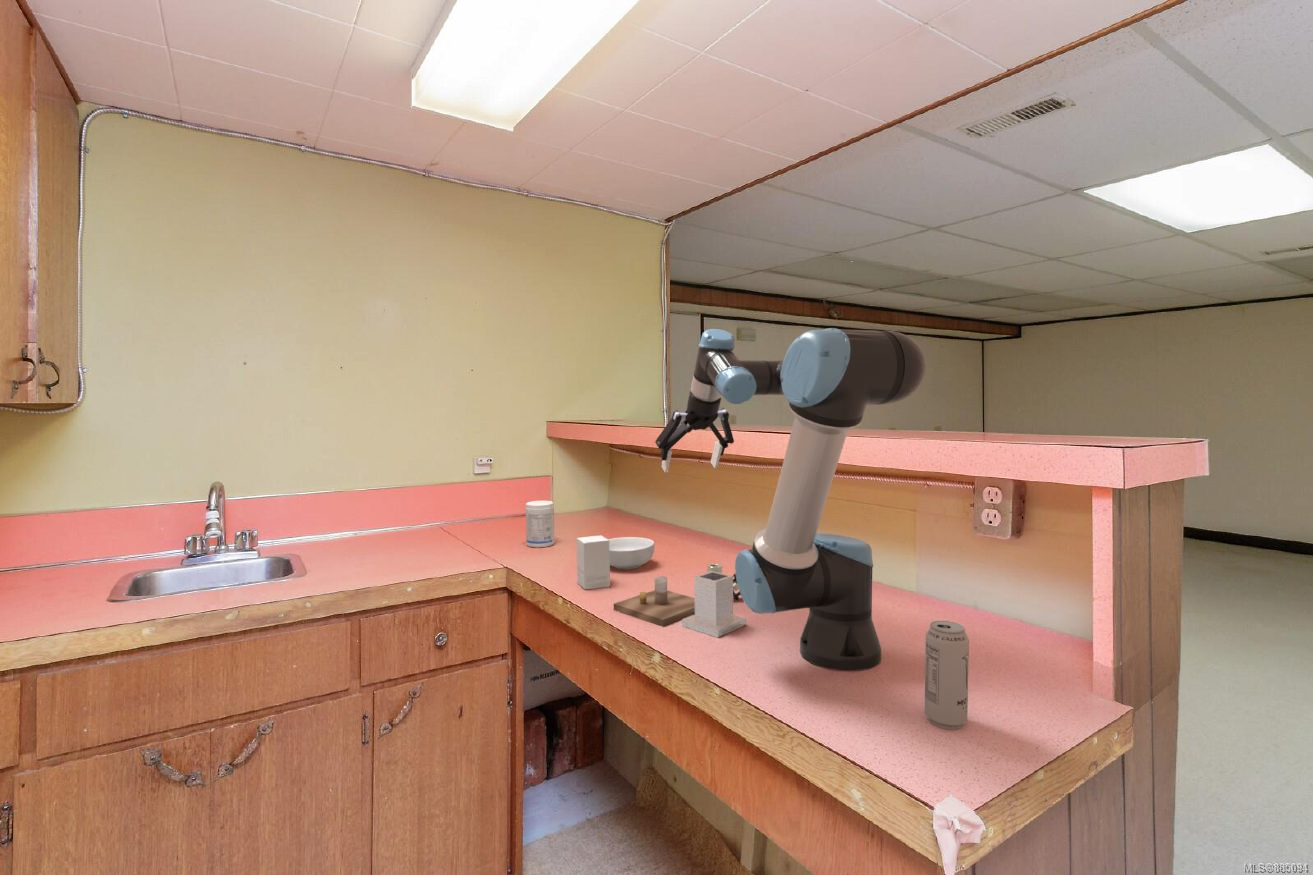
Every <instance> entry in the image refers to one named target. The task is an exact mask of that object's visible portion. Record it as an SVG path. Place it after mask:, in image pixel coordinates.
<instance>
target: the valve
mask: <svg viewBox="0 0 1313 875" xmlns="http://www.w3.org/2000/svg"><path fill="white" fill-rule="evenodd" d="M710 571H714V572H718V573H722V572H723V565H721V564H720V563H709V564H708V565H707V572H710ZM732 576H733V601H736V600H737V601H739V600H740V597H739V596H741V594H740V591H739V588H738V584H737V580H736V573H734V574H733V575H732ZM735 591H736V592H735ZM737 591H738V592H737Z"/></svg>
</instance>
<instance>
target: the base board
mask: <svg viewBox="0 0 1313 875" xmlns="http://www.w3.org/2000/svg"><path fill="white" fill-rule="evenodd" d="M615 610H616V612H618V611H619V613H622V614H624V615H627V614H628V616H630V615H631V616H630V617H634V618H637V619H639V618H640V620H642V621H646V622H649V623H651V624H655V625H657V626H660V627H665V626H667V625H670V624H672V623H675V622H678V621H680V620H682V619H684V618H687V617H689V616H692V615H695V597H692V596H689V595H684V594H681V593H677V592H674V591H670V590H668V577H667V576H663V575H662V576H661V575H660V576H659V575H658V576H655V577H654V590H651V591H649V592H646V591H640V592H639V595H635V596H634V597H631V598H630V597H629V598H627V599H624V600H621V601H617V602H614V603H613V611H615Z"/></svg>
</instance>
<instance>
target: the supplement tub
mask: <svg viewBox="0 0 1313 875" xmlns="http://www.w3.org/2000/svg"><path fill="white" fill-rule="evenodd" d="M525 525H526V526H525V529H526V530H525V532H526V533H525V534H526V545H527V546H528V547H530V548H539V549H540V548H548V547H551V546H553V545H554V544H555V507H554V502H553V501H551V500H533V501H532V500H531V501H528V502H526V503H525Z"/></svg>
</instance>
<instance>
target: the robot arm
mask: <svg viewBox="0 0 1313 875" xmlns="http://www.w3.org/2000/svg"><path fill="white" fill-rule="evenodd" d="M735 341H736V340H735V337H734V335H733V334H732V333H731V332H729V331H727V330H724V329H718V328H710V329H706V330H704V332H702V334H701V338H700V342H699V344H698V350H697V355H696V361H695V366H694V371H693V376H692V381H691V385H690V392H689V394H688V400H687V407H686V410H685V412H679V411H678V410H677V409H676V410H674V411H673V412H672V416H671V418H670V420H669V421H668V423H667V424H666V425H665V427H664V428H663V429H662V431H661V433H660V434H659V435H658V437H657V438H656V440H655V441H654V442H655V444H656V446H657V449H659V450H660V455H659V456H660V458H661V460H662V461H661V468H662V470H663V472H664V473H665V474H666V473H669V468H670V465H671V464H670V463H671V459H672V455H673V454H672V453H673V450H672V447H674V445H676V444H677V443H678V442H679V441H680V440H681V439H683V437H685V435H687V434H689V433H691V432H692V431H693V430H694V431H698V430H707V429H708V428H709V429H710V430H711V431H712V432H713V434H714V435H715V437H716V439H717V441H715V442H714V447H713V451H712V455H711V459H710V464H711V465H712V467H713V468H714V469H718V467H719V464H720V458H721V456H723V455H724V453H725V451H726V450H725V449H727V448H728V447H729V444H731V445H732V444H734V442H735V439H734V436H733V433H732V429H731V426H730V422H729V420H730V419H729V417H730V414H729V412H728V410H727V409H726V408H725V407H721V409H720V405H721V401H722V397H723V399H724V400H726V401H727V402H728V403H730V404H733V405H741V404H744V403H745V402H748V401H750V400H751V398H753V396H765V395H766V396H770V395H771V396H784V398H785V399H786V400H787V401H788V408H789V410H790V412H791V413H792V414H793V416H794V420H793V423H792V427H791V432H790V436H789V439H788V443H787V446H786V451H785V454H784V458H783V461H782V465H781V470H780V473H779V477H778V481H777V484H776V485H777V486H776V488H775V493H774V496H773V501H772V504H771V508H770V511H769V516H768V520H767V522H766V527H765V528H763V529H761V530H760V531H758V532H757V533H756V534H755V537H754V540H753V542H752V546H751V548H750V549H743V550H741V551H739V552H738V553H737V555H736V557H735V561H734V563H735V565H734V567H735V568H734V571H735V573H734V574H736V580H737V584H738V588H739V589H738V592H739V591H740V594H741V595H740V596H741V598H742V600H743V602H744V603H745V605H746V606H747V608H748V609H749V610H751V612H753V613H755V614H758V615H759V614H762V615H763V614H772V615H773V614H776V613H781V612H788V611H789V612H790V611H796V610H803V609H808V610H809V611H808V616H807V619H806V621H805V625H804V627H803V630H802V634H801V637H800V639H799V640H800V641H799V652H800V655H801V656H802V657H803V659H805V660H806V661H808V662H810V663H811V664H813V665H815V666H816V665H817V667H823V668H826V669H829V670H830V669H831V670H835V671H845V672H846V671H850V672H853V671H864V670H869V669H872V668H875V667H876V666H878V665H879V664H880V663H881V660H882V646H881V643H880V640H879V637H878V634H877V633H878V632H877V631H876V627H875V624H874V622H873V614H872V613H873V609H872V608H873V567H874V563H873V562H874V561H873V550H872V548H871V546H870V544H868V543H867V542H866V541H864V540H862V539H858V538H856V537H850V536H846V535H840V534H833V533H821V532H818V530H819V525H820V522H821V519H822V515H823V513H824V509H825V506H826V502H827V499H828V496H829V493H830V490H831V486H832V483H833V479H834V476H835V473H836V471H837V467H838V464H839V461H840V458H841V454H842V452H843V451H842V450H843V448H844V444H845V441H846V439H847V435H848V431H850V430H852V429H854V428H856V427H858V426H860V424H861V422H862V421H863V418H864V414H865V411H866V408H867V407H868V406H873V405H874V406H876V405H879V406H880V405H890V404H896V403H898V402H902V401H904V400H907V399H908V398H909V397H911V396H912V395H913V394H915V392H916V391H918V389H919V388H920V386H922V383H923V382H924V379H925V376H926V372H927V363H926V358H925V354H924V352H923V349H922V348H921V347H920V345H919V344H918V343H917V341H915V340H914V339H913V338H911V337H910V336H907V335H906V334H904V333H902V332H897V331H894V330H871V329H870V330H869V329H868V330H867V329H866V330H865V329H839V328H836V327H829V328H824V329H811V330H808V331H806V332H803V333H802V334H801V335H799V336H796V338H795V339H794V341H793V342H791V344H790V345H789V348H788V349H787V351H786V353H785V356H784V358H783V359H782V360H762V359H761V360H755V359H753V360H751V359H750V360H745V359H742V360H741V359H739V358H738V357H737V356H736V354H735V353H734V352H733V351H734V349H735ZM718 418H719V419H720V423H721V427H722V430H723V433H724V436H722V434H721V432H720V431H719V429H718V428H717V427H716V425H715V424H714V422H715V421H716V420H717V419H718ZM817 532H818V533H817Z"/></svg>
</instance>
